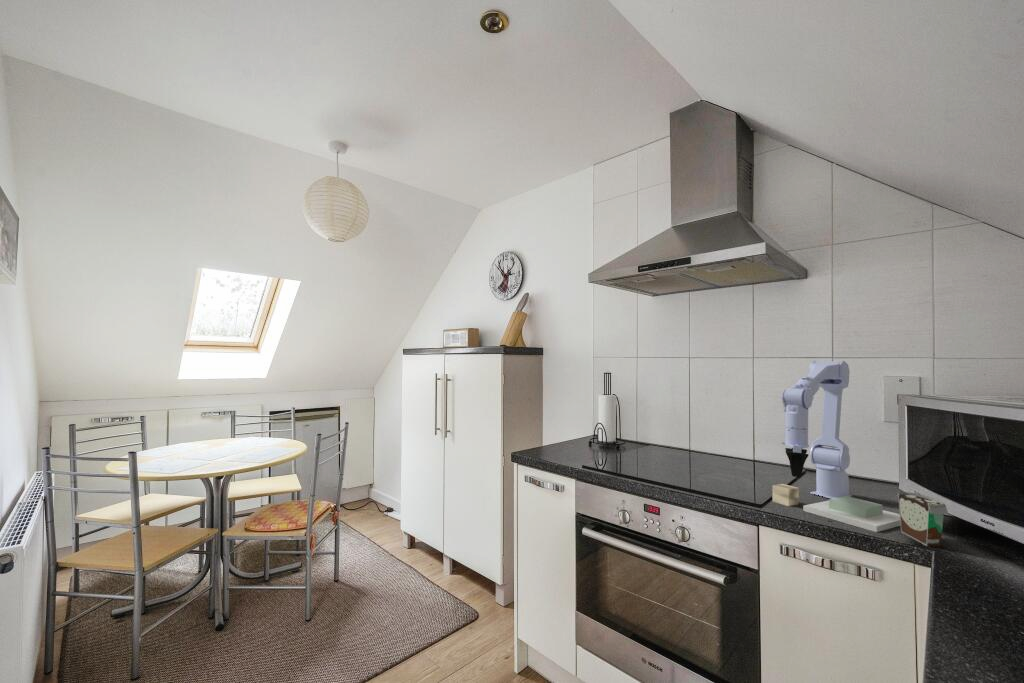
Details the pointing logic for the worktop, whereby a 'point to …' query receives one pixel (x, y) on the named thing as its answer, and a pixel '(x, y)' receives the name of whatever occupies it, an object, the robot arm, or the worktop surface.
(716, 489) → the worktop surface
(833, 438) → the robot arm
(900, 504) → the food container
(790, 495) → the maple cube
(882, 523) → the base board
